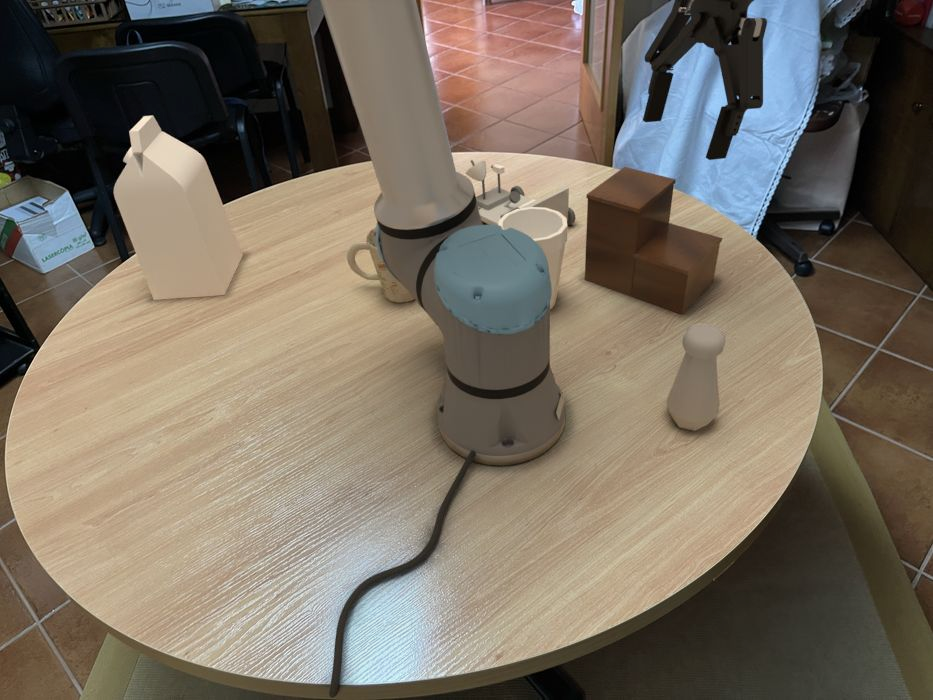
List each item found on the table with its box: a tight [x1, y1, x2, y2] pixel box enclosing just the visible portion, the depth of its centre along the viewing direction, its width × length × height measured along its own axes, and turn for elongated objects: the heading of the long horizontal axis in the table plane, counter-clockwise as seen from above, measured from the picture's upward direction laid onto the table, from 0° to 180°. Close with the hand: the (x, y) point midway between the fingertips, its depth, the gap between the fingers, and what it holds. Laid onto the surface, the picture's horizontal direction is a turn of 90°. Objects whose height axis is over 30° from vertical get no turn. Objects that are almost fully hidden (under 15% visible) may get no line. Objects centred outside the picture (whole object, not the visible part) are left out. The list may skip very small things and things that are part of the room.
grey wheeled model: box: [465, 159, 576, 226], centre depth 118 cm, size 18×10×12 cm
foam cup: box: [498, 207, 568, 310], centre depth 98 cm, size 10×9×13 cm
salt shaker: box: [666, 322, 726, 432], centre depth 77 cm, size 6×6×13 cm
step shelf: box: [584, 166, 723, 315], centre depth 99 cm, size 10×16×14 cm, turn 50°
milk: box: [113, 115, 244, 301], centre depth 106 cm, size 12×12×26 cm
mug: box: [346, 226, 415, 303], centre depth 104 cm, size 8×13×10 cm, turn 78°
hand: (681, 138), depth 93 cm, fingers open, 13 cm apart
